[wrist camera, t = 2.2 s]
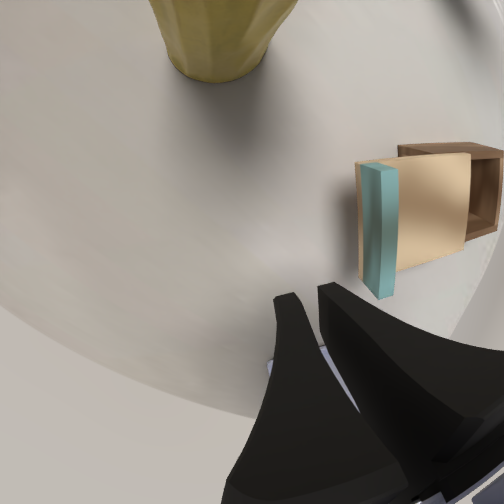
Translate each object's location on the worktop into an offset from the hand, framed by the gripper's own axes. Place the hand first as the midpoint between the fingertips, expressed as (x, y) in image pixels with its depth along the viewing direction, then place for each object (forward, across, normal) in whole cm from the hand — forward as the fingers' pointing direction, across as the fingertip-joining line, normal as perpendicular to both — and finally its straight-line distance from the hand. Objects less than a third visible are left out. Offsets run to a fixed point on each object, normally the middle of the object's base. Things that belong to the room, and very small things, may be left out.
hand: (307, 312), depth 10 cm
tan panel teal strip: (+6, -9, 0) cm, 11 cm away
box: (+10, -16, 0) cm, 19 cm away
